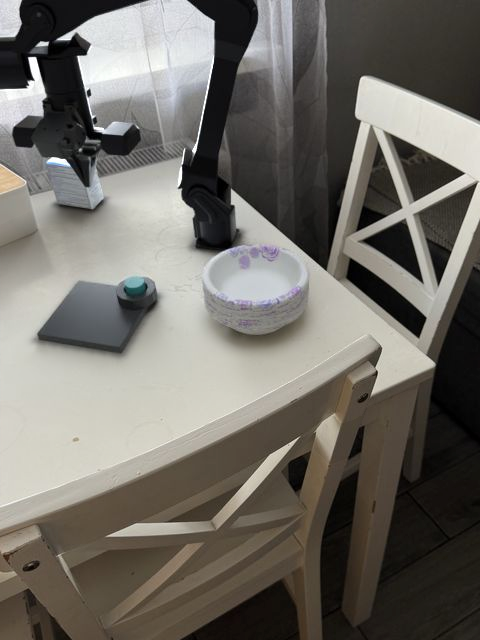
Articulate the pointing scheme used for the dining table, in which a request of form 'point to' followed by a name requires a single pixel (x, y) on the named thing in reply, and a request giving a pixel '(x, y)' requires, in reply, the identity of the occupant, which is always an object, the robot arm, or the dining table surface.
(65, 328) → the scale
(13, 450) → the dining table surface
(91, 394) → the dining table surface
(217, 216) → the robot arm
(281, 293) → the paper bowls
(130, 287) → the tare button
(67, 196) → the medicine box
